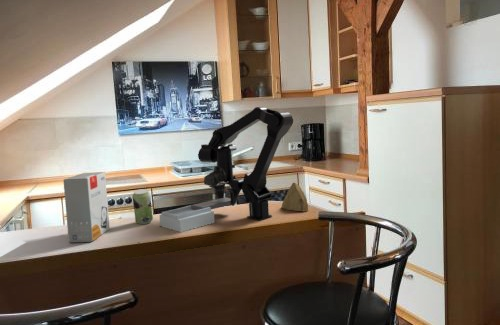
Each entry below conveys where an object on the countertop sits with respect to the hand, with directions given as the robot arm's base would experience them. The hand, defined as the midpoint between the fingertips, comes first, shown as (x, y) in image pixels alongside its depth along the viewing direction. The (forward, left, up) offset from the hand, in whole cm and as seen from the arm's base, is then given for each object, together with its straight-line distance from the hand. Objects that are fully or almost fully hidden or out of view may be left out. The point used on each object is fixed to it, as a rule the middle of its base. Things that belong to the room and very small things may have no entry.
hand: (227, 204), depth 155 cm
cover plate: (0, +6, +1) cm, 6 cm away
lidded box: (0, +18, -4) cm, 19 cm away
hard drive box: (+16, +45, -4) cm, 48 cm away
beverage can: (+15, +26, -4) cm, 31 cm away
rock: (-17, -19, -4) cm, 26 cm away
